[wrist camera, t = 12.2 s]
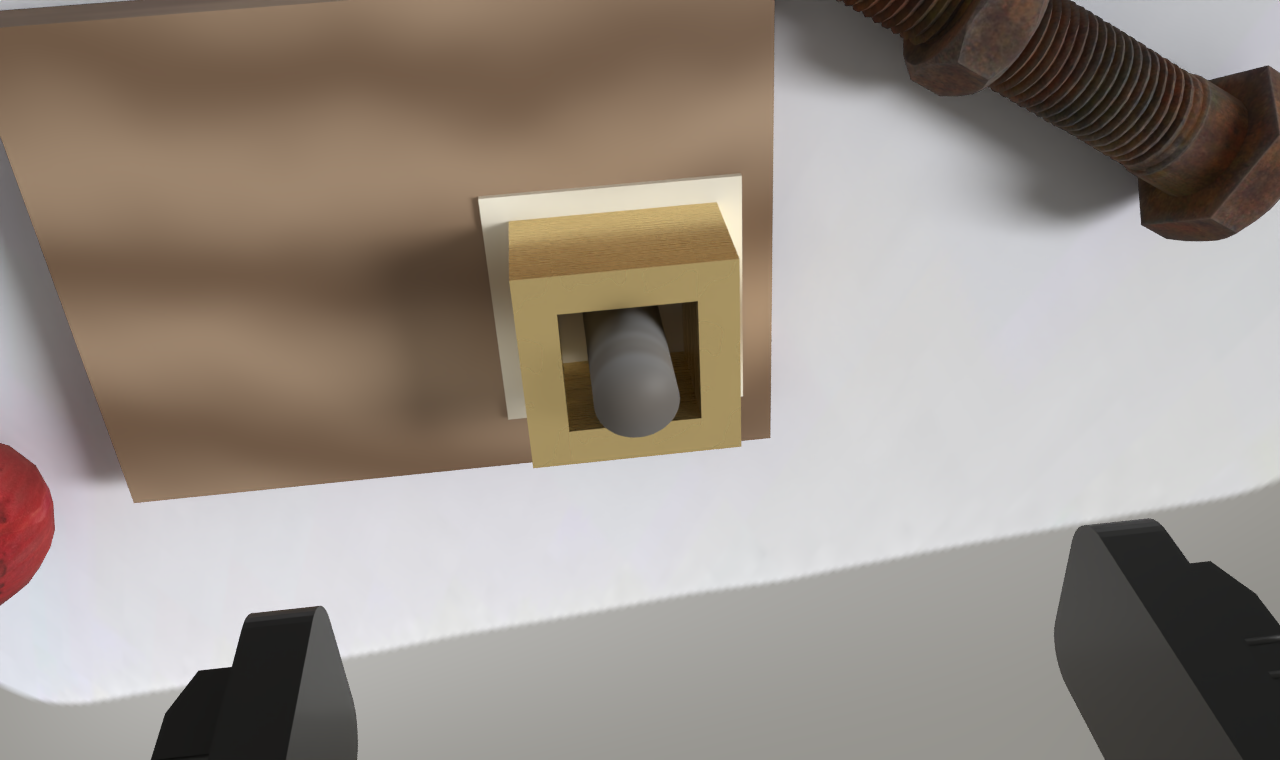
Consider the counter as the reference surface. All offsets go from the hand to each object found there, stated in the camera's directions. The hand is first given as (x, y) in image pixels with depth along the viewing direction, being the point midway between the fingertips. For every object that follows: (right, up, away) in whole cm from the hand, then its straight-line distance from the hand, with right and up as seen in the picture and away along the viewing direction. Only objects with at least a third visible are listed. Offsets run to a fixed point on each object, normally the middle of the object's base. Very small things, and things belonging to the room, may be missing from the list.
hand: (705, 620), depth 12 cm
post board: (-8, +7, +25) cm, 27 cm away
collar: (-1, +5, +24) cm, 25 cm away
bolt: (+11, +14, +24) cm, 30 cm away
